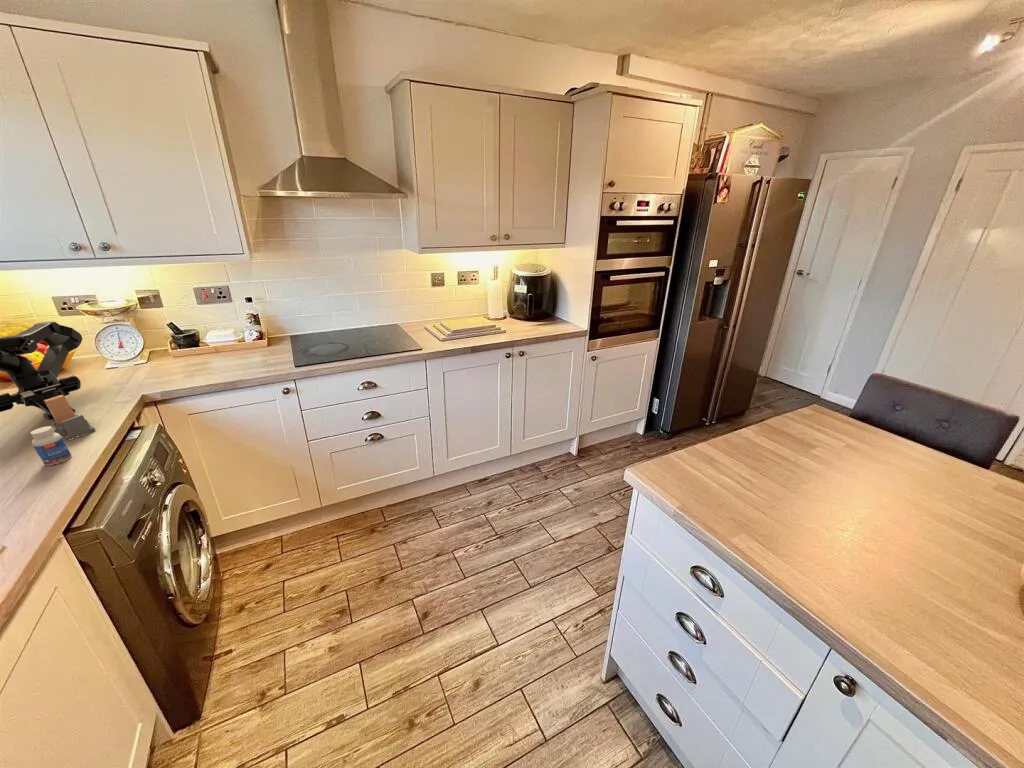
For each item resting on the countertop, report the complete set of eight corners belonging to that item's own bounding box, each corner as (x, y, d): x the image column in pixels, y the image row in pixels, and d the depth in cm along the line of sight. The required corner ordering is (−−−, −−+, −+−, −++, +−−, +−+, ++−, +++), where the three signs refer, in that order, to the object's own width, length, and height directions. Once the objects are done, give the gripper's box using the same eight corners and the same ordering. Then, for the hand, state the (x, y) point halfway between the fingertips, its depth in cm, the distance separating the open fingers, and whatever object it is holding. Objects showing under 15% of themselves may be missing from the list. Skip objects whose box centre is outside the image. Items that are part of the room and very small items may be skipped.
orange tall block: (60, 428, 126) (43, 400, 122) (77, 422, 129) (61, 394, 125) (63, 430, 125) (46, 401, 121) (80, 424, 128) (64, 396, 124)
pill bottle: (54, 467, 110) (35, 436, 106) (39, 465, 111) (19, 434, 107) (77, 455, 115) (60, 425, 111) (63, 453, 116) (45, 424, 112)
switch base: (55, 433, 126) (45, 416, 124) (82, 423, 131) (73, 407, 129) (68, 440, 122) (58, 423, 119) (95, 430, 127) (86, 413, 124)
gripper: (65, 375, 137) (93, 413, 137) (-19, 397, 122) (13, 439, 123) (64, 359, 130) (94, 398, 130) (-25, 380, 115) (9, 425, 116)
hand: (54, 415), depth 125 cm, fingers closed
